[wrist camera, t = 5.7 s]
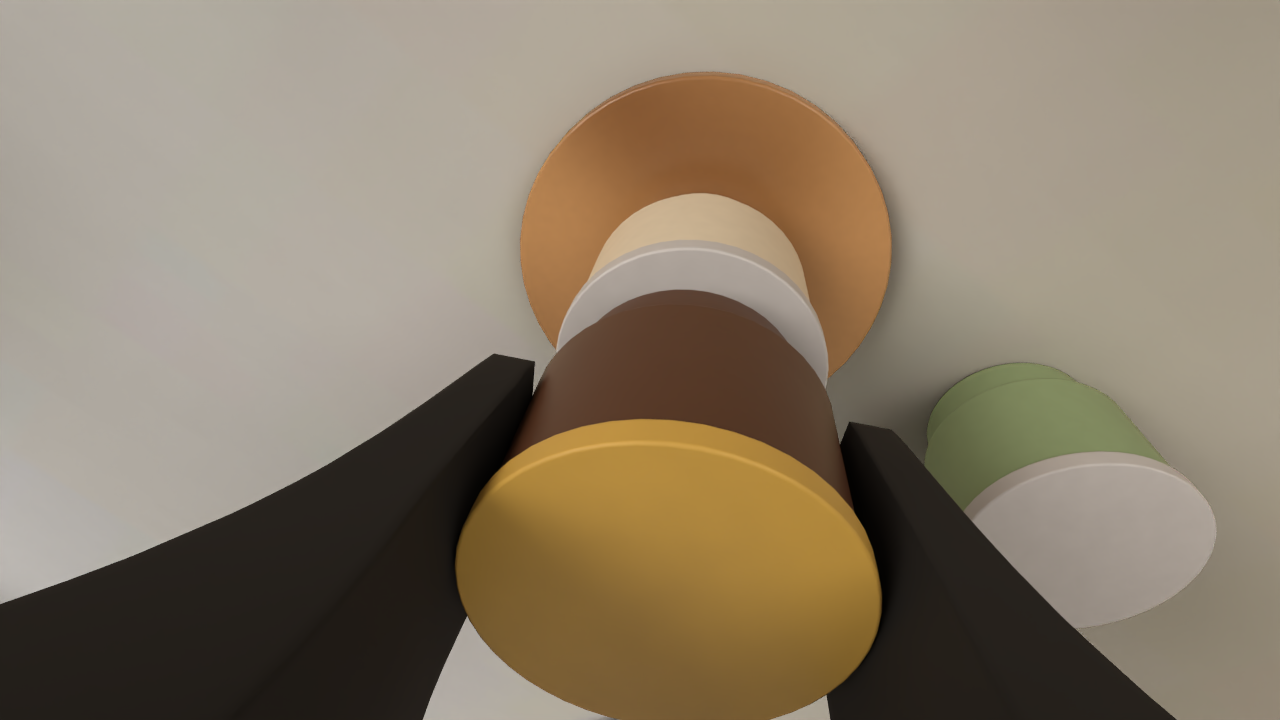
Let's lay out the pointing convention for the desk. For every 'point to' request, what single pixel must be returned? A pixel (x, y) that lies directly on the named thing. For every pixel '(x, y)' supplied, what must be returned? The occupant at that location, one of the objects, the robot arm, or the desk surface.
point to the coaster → (713, 191)
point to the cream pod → (703, 268)
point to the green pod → (1069, 492)
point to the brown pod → (674, 523)
